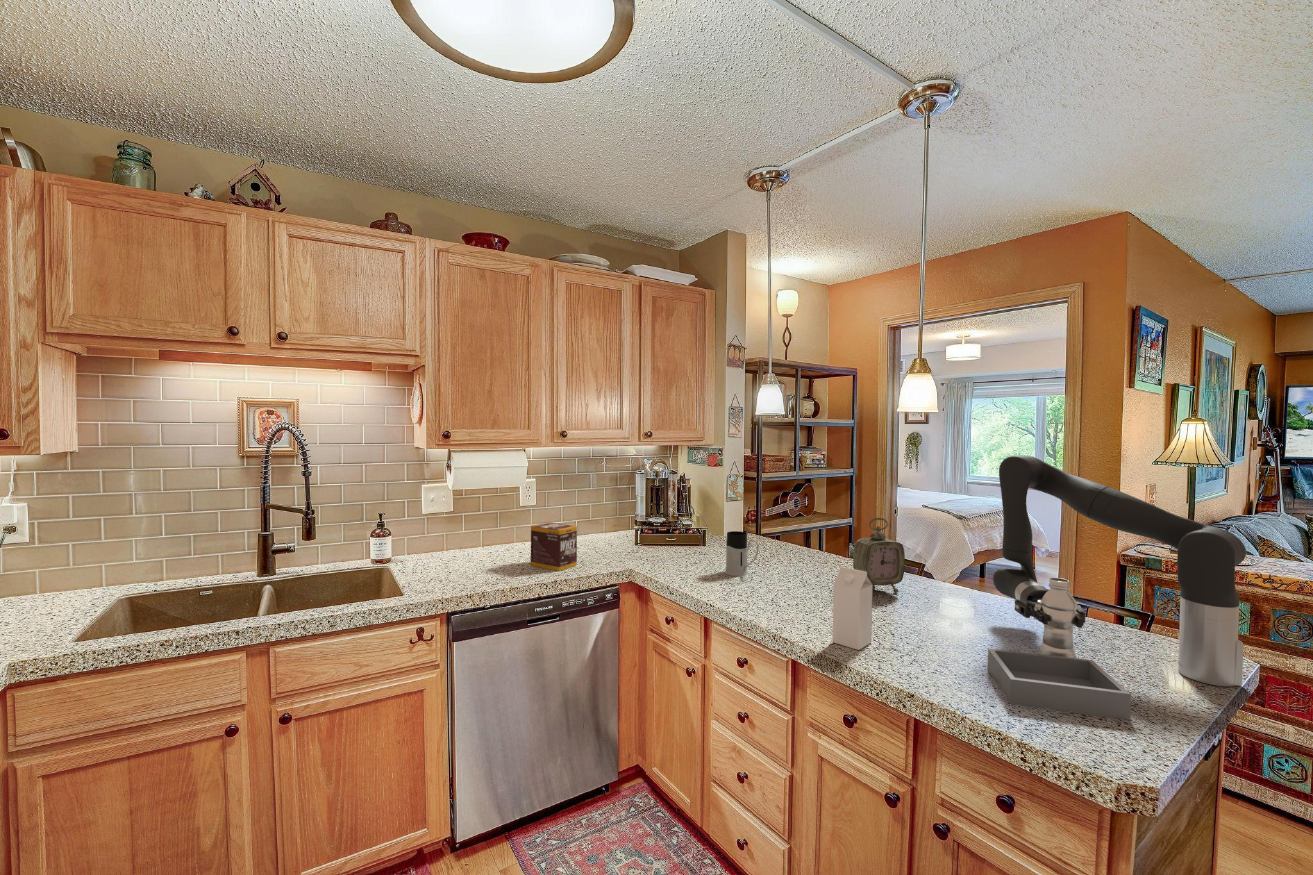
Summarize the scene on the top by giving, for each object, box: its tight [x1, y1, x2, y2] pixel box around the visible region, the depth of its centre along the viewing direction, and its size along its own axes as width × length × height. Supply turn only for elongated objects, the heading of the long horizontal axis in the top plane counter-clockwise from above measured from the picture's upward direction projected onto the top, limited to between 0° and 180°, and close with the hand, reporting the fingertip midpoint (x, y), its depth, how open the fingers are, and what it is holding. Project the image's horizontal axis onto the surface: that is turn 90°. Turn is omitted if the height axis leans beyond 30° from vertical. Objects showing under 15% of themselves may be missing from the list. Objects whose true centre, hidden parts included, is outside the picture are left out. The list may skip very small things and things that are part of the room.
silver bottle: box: [1039, 577, 1078, 658], centre depth 128 cm, size 6×7×20 cm
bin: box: [987, 648, 1132, 721], centre depth 116 cm, size 20×16×5 cm
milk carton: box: [832, 566, 873, 651], centre depth 141 cm, size 7×7×19 cm
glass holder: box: [724, 530, 760, 577], centre depth 205 cm, size 9×14×15 cm, turn 43°
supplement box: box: [529, 522, 578, 572], centre depth 216 cm, size 10×15×16 cm
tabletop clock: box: [852, 517, 906, 594], centre depth 185 cm, size 14×9×25 cm, turn 102°
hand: (1063, 621), depth 126 cm, fingers closed on silver bottle, 6 cm apart
